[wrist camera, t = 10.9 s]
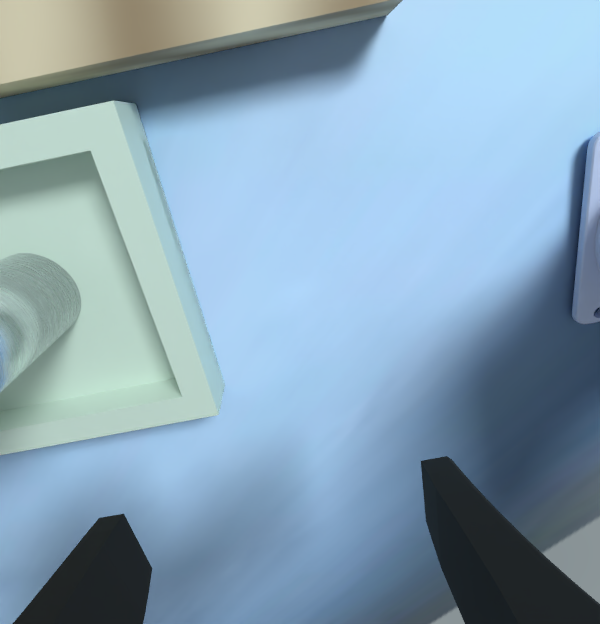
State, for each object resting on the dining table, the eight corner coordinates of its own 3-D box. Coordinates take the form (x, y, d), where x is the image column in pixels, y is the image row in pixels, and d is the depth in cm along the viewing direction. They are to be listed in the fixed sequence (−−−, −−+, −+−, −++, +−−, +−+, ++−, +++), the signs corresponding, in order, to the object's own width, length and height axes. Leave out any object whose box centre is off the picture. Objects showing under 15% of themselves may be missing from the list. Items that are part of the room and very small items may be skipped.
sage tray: (135, 103, 15) (113, 100, 13) (224, 385, 20) (218, 414, 18) (-188, 172, 15) (-260, 179, 13) (-21, 430, 20) (-54, 465, 18)
